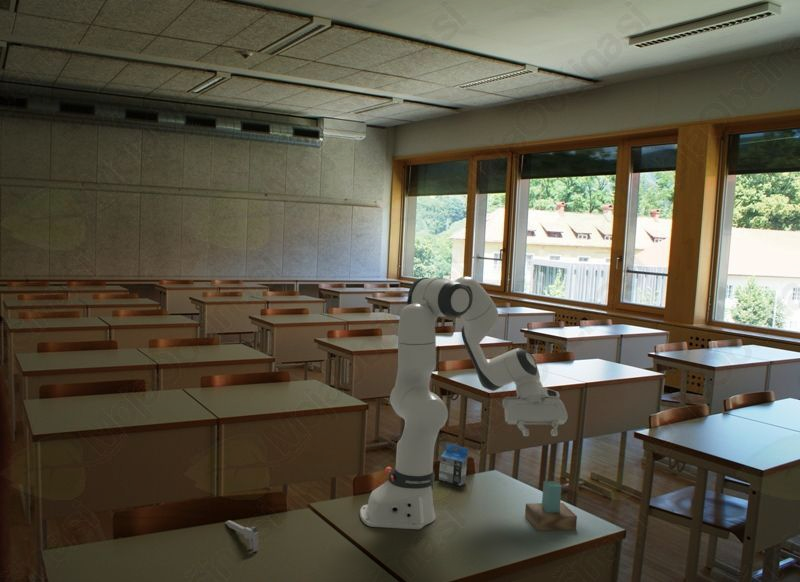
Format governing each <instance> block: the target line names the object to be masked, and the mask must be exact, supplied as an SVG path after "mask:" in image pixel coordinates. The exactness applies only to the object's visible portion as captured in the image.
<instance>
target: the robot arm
mask: <svg viewBox="0 0 800 582" xmlns="http://www.w3.org/2000/svg"><path fill="white" fill-rule="evenodd" d="M439 317H445V318H446V317H447V318H459V317H460V318H461V320H462V322H463V326H462V327H461V331H460V332H461V337H462V340H463V344H464V346H465V349H466V351H467V353H468V355H469V358H470V360H471V362H472V364H473V366H474V369H475V371H476V374H477V377H478V380H479V382H480V385H481V386H482V387H483V388H484V389H486V390H489V391H493V392H494V391H496V390H498V389H501V388H503V387H505V386H506V385H509V384H512V383H514V384H515V392H516V396H505V397H504V398H502V401H501V404H502V408H503V409H504V419H505V423H506V424H507V425H517V428H518V429H519V430H520V431H521V432H522V436H523V437H529V436H530V430H529V428H526V426H525V425H551V427H552V429H551V430H550V434H551V437H557V436H558V434H559V431H558V427H559V425H564V424H566V422H567V420H568V418H569V415H568V412H567V409H566V407H565V403H564V402H563V401H562V400H561V398H560V396H561V395H560V393H559V391H556V390H553V389H550V388H547V387H545V386H543V384H542V382H541V380H540V379H541V375H540V372H539V368H538V365H537V362H536V359H535V357H534V356H533V354H532V353H530V352H529V351H528V350H525V349H523V348H520V347H517V348H514V349H511V350H509V351H507V352H504V353H502V354H500V355H498V356H495V357H492V358H486V356H485V353H484V352H483V349H482V347H481V344H480V343H481V342H482V341H483V340H484V339H485V338H486V336H488V335H489V334H490V333H491V332H492V331H493V330H494V328H495V326H496V325H497V323H498V319H499V311H498V308H497V305H496V303H495V302H494V300H493V299H492V298H491V296H490V295H489V293H488V292H487V291H486V290H485V289H484V287H483V286H482V285H481V284H480V283H479V282H478V281H477V280H476V279H475V278H473V277H472V276H466V275H465V276H461V277H459V278H457V279H455V280H449V279H444V278H440V277H422V278H417V279H416V280H415V281H413V283H412V284H411V285H410V288H409V290H408V294H407V300H406V305H405V306H404V307H403V308H402V309H401V310H400V314H399V320H398V328H397V329H398V330H397V351H398V352H397V358H398V359H397V373H396V377H395V378H396V379H395V384H394V387H393V388H392V390H391V392H390V395H389V402H390V405H391V407H392V409H393V410H394V413H395V414H397V416H399V417H400V418H402V419H403V420H404V428H403V431H402V435H401V438H400V439H399V440H398V441H397V444H396V458H395V467H394V468H393V469H392V467H391V466H386V468H385V470H384V471H385V474H386V475H387V476H388V477H387V479H388V480H386V481H385V482H383V484H381V485H380V486H378V487H376V488H374V489H373V490H372V491H371V493H370V495H369V498H368V502H367V504H364V505H362V506H361V508H360V510H359V516H360V519H361V521H362V522H363V523H364V524H365V525H366V526H368V527H372V528H373V527H374V528H387V529H389V528H392V529H406V530H408V529H409V530H421V529H422V528H423V527H424V526H426V525H429V524H431V523H433V522H434V521H435V520H436V517H437V516H436V513H435V508H434V507H435V506H434V501H433V500H434V497H433V489H434V485H435V470H434V456H435V455H434V454H435V445H436V441H437V438H438V435H439V432H440V429H443V427H444V426H445V425H446V423H447V421H448V418H449V410H448V407H447V405H446V403H445V402H444V401H443V399H441V397H440V396H438V395H437V394H435V392H432V391H431V390H430V381H431V377H432V374H433V372H434V371H435V369H436V368H437V367H436V366H437V357H436V356H437V347H436V346H437V343H436V342H437V341H436V339H437V338H436V323H437V320H438V318H439Z"/></svg>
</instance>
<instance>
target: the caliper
mask: <svg viewBox="0 0 800 582" xmlns="http://www.w3.org/2000/svg"><path fill="white" fill-rule="evenodd" d="M224 524H225V525H226V526H227V527H228V528H230V529H232V530H234V531H235V532H238V533H240V534H241V535H243V537H244V539H246V540H248V541H249V547H250V550H251V551H252V552H253V553H256V552H258V551H259V532H258V529H257V527H256V526H251V527H248V526H247V527H245V526H243V525H241V524H238V523H236V522H235V521H233V520H226V521H225V522H224Z"/></svg>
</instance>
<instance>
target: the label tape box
mask: <svg viewBox="0 0 800 582" xmlns="http://www.w3.org/2000/svg"><path fill="white" fill-rule="evenodd" d="M456 449H457V450H456ZM443 460H446V461H443ZM467 464H468V448H466V447H463V446H459V445H455V444H451V443H448V442H447V443H445V450H444V452H443V453H442V454H441V455H440V460H439V469H438V470H439V472H438V480H439V481H443V482H446V481H447V483H450V484H453V485H457V486H464V485H465V484H466V483H467V482H466V481H467V467H468V465H467Z"/></svg>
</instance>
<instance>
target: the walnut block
mask: <svg viewBox="0 0 800 582" xmlns="http://www.w3.org/2000/svg"><path fill="white" fill-rule="evenodd" d="M524 513H525V514H524V517H525V518H526V519H527V521H528V522H529V523H530V522H531V523H530V524H531V525H532V526H533V527H534V528H535V529H536V531H563V530H565V531H566V530H567V531H568V530H569V529H570V530H571V531H572V530H577V521H578V515H576V514H575V513H574V512H573V511H572V510H571V509H570V508H569V507H568V506H567V505H566V504H565V503H563V502H560V512H553V513H547V512H546V511H545V510H544V509H543V508H542V502H535V503H534V502H533V503H532V502H531V503H525V512H524Z"/></svg>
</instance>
